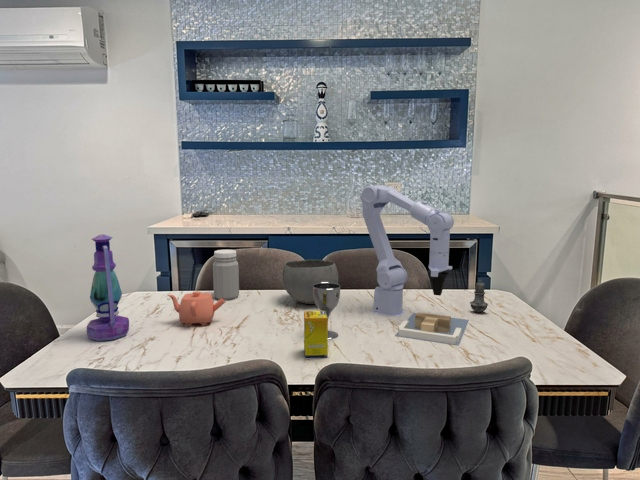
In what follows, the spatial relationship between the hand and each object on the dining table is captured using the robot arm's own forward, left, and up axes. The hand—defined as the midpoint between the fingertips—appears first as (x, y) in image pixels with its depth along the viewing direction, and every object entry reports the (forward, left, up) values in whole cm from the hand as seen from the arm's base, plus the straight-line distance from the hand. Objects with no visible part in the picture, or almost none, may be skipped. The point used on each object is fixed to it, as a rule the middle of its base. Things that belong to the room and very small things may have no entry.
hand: (437, 294), depth 141 cm
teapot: (-70, -30, -10) cm, 77 cm away
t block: (0, -9, -9) cm, 13 cm away
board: (0, -5, -10) cm, 11 cm away
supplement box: (-25, -37, -10) cm, 45 cm away
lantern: (-86, -50, -10) cm, 100 cm away
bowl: (-47, +6, -10) cm, 49 cm away
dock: (0, -12, -9) cm, 15 cm away
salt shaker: (+11, +17, -10) cm, 23 cm away
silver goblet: (-28, -23, -10) cm, 37 cm away
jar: (-79, -2, -10) cm, 80 cm away
